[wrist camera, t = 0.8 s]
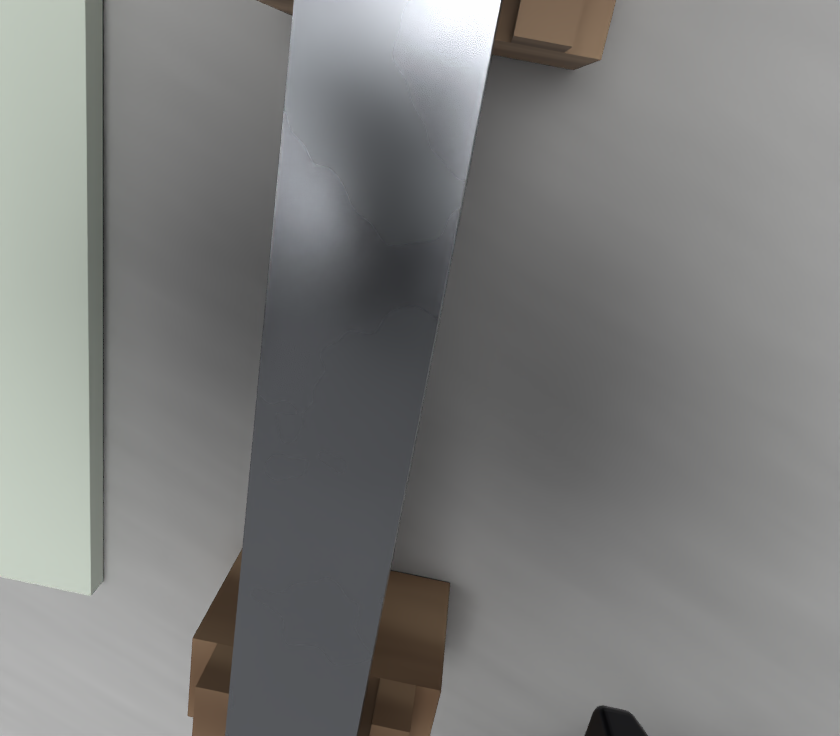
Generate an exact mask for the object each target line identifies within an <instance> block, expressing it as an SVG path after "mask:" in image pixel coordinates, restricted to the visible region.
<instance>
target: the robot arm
mask: <svg viewBox="0 0 840 736" xmlns="http://www.w3.org/2000/svg"><path fill="white" fill-rule="evenodd" d="M585 736H648V735H647V734H646V732H645V731H644V730H643V728H642V727H641V725H640V724H639V723H638V721H637V720H636V718H635V717H634V716H633V715H632V714H631V713H630V712H628V711H626V710H622V709H617V708H613V707H608V706H603V705H602V706H598V707H597V708H596V709H595V710H594V712H593V714H592V717H591V720H590V722H589V725H588V728H587V731H586V733H585Z"/></svg>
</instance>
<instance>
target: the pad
mask: <svg viewBox="0 0 840 736" xmlns="http://www.w3.org/2000/svg"><path fill="white" fill-rule="evenodd" d="M0 577H3V578H8V579H13V580H18V581H22V582H27V583H32V584H37V585H41V586H46V587H51V588H55V589H60V590H65V591H70V592H74V593H79V594H84V595H89V596H91V595H92V594H93V593H94V592H95V590H96V589H97V588H98V587H99V585H100V584H101V583H102V582H103V0H0Z"/></svg>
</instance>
